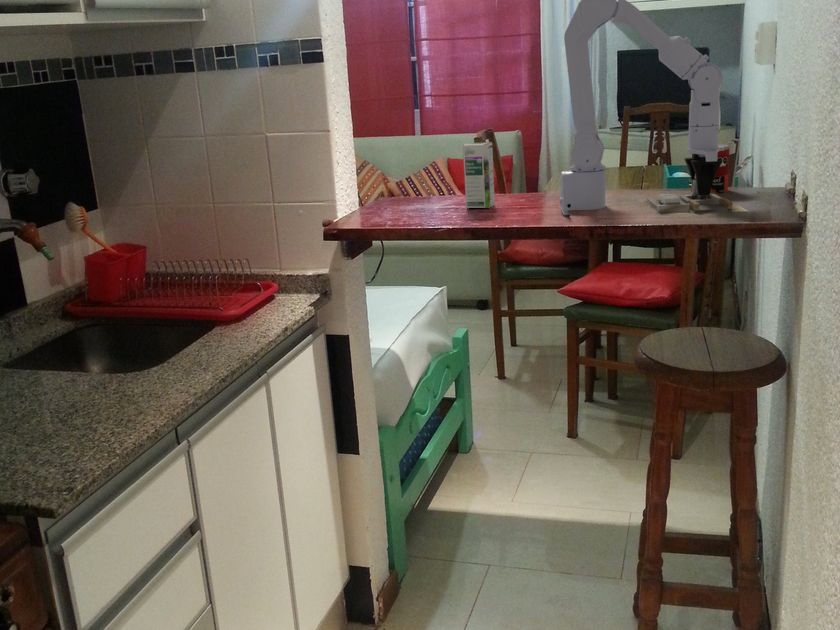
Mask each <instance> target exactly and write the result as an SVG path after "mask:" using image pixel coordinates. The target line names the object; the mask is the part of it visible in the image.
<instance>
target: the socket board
mask: <svg viewBox="0 0 840 630" xmlns="http://www.w3.org/2000/svg"><path fill="white" fill-rule="evenodd" d="M678 197H679V198H680V204H671V205H660V204H659V200H656V199H654V198H653V197H646V201H643V202H644V203H645V205H647V206H648V207H649V208H650V209H651V210H652V211H653V212H655V213H656V214H657V215H658V216H674V215H692V214H693V215H694V214H697V215H698V214H711V213H713V214H714V213H715V214H716V213H735V212H738V213H739V212H748V211H749V210H747V209H746V208H744V207H742V206H741V205H739V204H737V203H735V202H734V201H732V200H730V199H729V198H727V197H725V196H724V197H723V196H719V195H718V194H711V199H702V200H693V199H692V194H683V195H679V196H678Z"/></svg>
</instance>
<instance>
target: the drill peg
mask: <svg viewBox="0 0 840 630" xmlns="http://www.w3.org/2000/svg"><path fill="white" fill-rule="evenodd" d="M691 195H692V199H693V200H702V199H711V192H710V195H698V191H697V182H696V175H695V179H693V186H692V192H691Z"/></svg>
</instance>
